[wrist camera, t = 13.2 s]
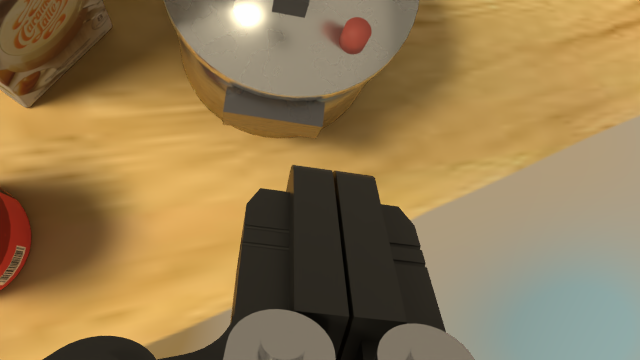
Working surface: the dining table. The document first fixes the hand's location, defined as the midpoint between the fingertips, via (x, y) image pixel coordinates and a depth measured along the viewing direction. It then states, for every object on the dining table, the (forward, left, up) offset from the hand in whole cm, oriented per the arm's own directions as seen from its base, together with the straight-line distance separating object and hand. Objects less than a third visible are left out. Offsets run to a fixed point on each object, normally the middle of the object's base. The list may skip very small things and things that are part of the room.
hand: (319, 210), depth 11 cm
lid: (-10, +14, -22) cm, 28 cm away
